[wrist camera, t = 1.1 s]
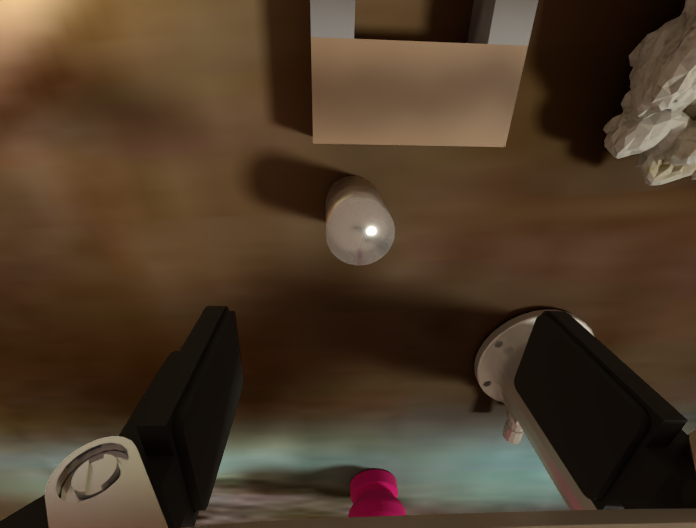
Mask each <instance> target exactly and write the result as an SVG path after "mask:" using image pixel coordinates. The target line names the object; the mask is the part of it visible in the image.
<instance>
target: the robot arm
mask: <svg viewBox="0 0 696 528" xmlns="http://www.w3.org/2000/svg"><path fill="white" fill-rule="evenodd" d="M474 372H475V376H476V379H477V381H478V383H479V385H480V387H481V388H482V390H483V391H484V392H485V393H486V394H487V395H488V396H489V397H491V398H493V399H494V400H497V401H500V402H503V403H504V404H505V406H506V408H507V413H506V414H507V417H508V420H507V421H506V423H505V426H504V429H503V436H504V438H505V439H506V440H507V441H508V442H510V443H513V444H517V443H519V442H520V440H521V438H522V435H523V433H525V435H526V436H527V438H528V440H529V441H530V443H531V445H532V447H533V448H534V450H535V452H536V453H537V455H538V457H539V458H540V460H541V462H542V463H543V465H544V467H545V469H546V470H547V472H548V474H549V475H550V477H551V479H552V480H553V482H554V484H555V485H556V487H557V489H558V491H559V492H560V494H561V496H562V497H563V499H564V501H565V502H566V504H567V506H568V507H569V509H570V511H532V512H498V513H465V514H433V515H402V516H375V517H347V518H319V519H296V520H278V521H260V522H242V523H228V524H219V525H209V526H200V527H193V526H194V525H195V522H196V519H197V515H198V512H199V510H205V509H206V508H207V506H208V503H209V500H210V497H211V493H212V490H213V487H214V483H215V480H216V477H217V473H218V470H219V466H220V463H221V460H222V456H223V453H224V449H225V446H226V443H227V439H228V436H229V433H230V429H231V426H232V422H233V419H234V416H235V412H236V409H237V406H238V402H239V399H240V395H241V392H242V387H243V374H242V366H241V357H240V349H239V340H238V332H237V323H236V315H235V312H234V311H229V308H228V307H227V306H207V307H206V308H205V309H204V311H203V313H202V314H201V316H200V318H199V320H198V321H197V323H196V325H195V326H194V328H193V330H192V331H191V333H190V335H189V337H188V338H187V340H186V342H185V343H184V345H183V347H182V348H181V350H180V351H174V352H172V353H171V354H170V355H169V356H168V357H167V359H166V361H165V362H164V364H163V365H162V367H161V369H160V370H159V372H158V373H157V375H156V377H155V378H154V380H153V381H152V383H151V385H150V386H149V388H148V390H147V391H146V393H145V394H144V396H143V398H142V399H141V401H140V402H139V404H138V406H137V407H136V409H135V410H134V412H133V414H132V415H131V417H130V419H129V420H128V422H127V423H126V425H125V427H124V428H123V430H122V431H121V433H120V435H119V436H111V437H105V438H100V439H98V440H95V441H93V442H90V443H88V444H86V445H84V446H82V447H81V448H79V449H78V450H76V451H74V452H73V453H72V454H71V455H69V456H68V457H67V458H66V459H65V460H63V461H62V462H61V463H60V465H59V466H58V467H57V468H56V469H55V471H54V472H53V473H52V475H51V477H50V479H49V481H48V483H47V485H46V491H45V495H43V496H42V497H40V498H38V499H37V500H35V501H33V502H32V503H30V504H28V505H27V506H25V507H23V508H22V509H20V510H18V511H17V512H15V513H13V514H12V515H10V516H8V517H7V518H5V519H3V520H2V521H0V528H180V527H192V528H696V429H695V430H693V431H692V432H690V433H689V435H687V434H686V433H685V432H684V431H683V430H682V427H683V426H684V425H685V423H686V422H687V421H688V420H687V419H686V418H685V417H684V416H683V415H681V414H680V413H679V412H678V411H677V410H676V409H675V408H674V407H672V406H671V405H670V404H669V403H668V402H667V401H666V400H665V399H664V398H662V397H661V396H660V395H659V394H658V393H657V392H656V391H655V390H654V389H652V388H651V387H650V386H649V385H648V384H647V383H646V382H645V381H643V380H642V379H641V378H640V377H639V376H638V375H637V374H636V373H635V372H633V371H632V370H631V369H630V368H629V367H628V366H627V365H626V364H625V363H623V362H622V361H621V360H620V359H619V358H618V357H617V356H616V355H614V354H613V353H612V352H611V351H610V350H609V349H608V348H607V347H606V346H604V345H603V344H602V343H601V342H600V341H599V340H598V339H597V338H595V336H594V334H593V332H592V330H591V329H590V328H589V327H588V325H587V324H586V323H585V322H583V321H582V320H581V319H580V318H578V317H577V316H576V315H573V314H571V313H569V312H566V311H561V310H549V309H545V310H538V311H532V312H529V313H525V314H522V315H520V316H518V317H515V318H513V319H511V320H509V321H507V322H506V323H504V324H503V325H501V326H500V327H498V328H497V329H496V330H495V331H494V332H492V333H491V334H490V335H489V336H488V338H487V339H486V340H485V341H484V342H483V344H482V345H481V347H480V349H479V350H478V353H477V355H476V358H475V364H474Z"/></svg>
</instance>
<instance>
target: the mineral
mask: <svg viewBox="0 0 696 528" xmlns="http://www.w3.org/2000/svg"><path fill="white" fill-rule="evenodd" d="M629 62H630V66H631V67H633V69H632V71H631V73H630V75H629V78H630V84H631V85H630V89H631V90H630V91H629V92H628V93H627V94H626V95H625V97H624V99H623V101H622V103H621V106H622V109H623V113H622V114H621V115H618V116H616V117H613V118H612V119H611V120H610V121H609V122H608V123H607V124H606V125H605V126H604V129H603V130H604V132H605V133H606V134H607V136H606V138H605V140H604V142H605V147H606V149H607V150H608V151H609V152H610V153H611V154H612V156H613V157H615V158H618V159H619V158H622V157H626V156H630V155H633V154H639V157H638V162H637V164H636V166H637V167H639V168H640V170H641V172H642V174H643V177H644V181H645V183H646V184H649V185H661V184H665V183H668V182H672V181H674V180H677V179H680V178H683V177H686V176H690V175H693V177H692V180H693V179H696V0H685V7H684V10H683V12H682V14H681V15H680V16H679V17H677V18H675V19H673V20H671V21H669V22H666V23H665V24H664V25H662V26H661V27H660V28H659V29H658V30H656V31H654V32H652V33H650V34H647V36H646V37H645V38H644V39H643V40H642V41H641V42H640V43H639V44H638V46H637V47H636V48H635V49H634V50H633V51H632V52H631V54H630V55H629Z"/></svg>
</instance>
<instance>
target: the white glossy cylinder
mask: <svg viewBox="0 0 696 528" xmlns="http://www.w3.org/2000/svg"><path fill="white" fill-rule="evenodd" d="M394 236H395V227H394V223H393V220H392V218H391V216H390V214H389V212H388V210H387V208H386V207H385V205H384V203H383V201H382V199H381V197H380V196H379V194H378V192H377V190H376V188H375V187H374V185H373V184H372V183H371V182H370V181H368V180H367V179H365V178H363V177H360V176H346V177H343V178H341V179H339V180H337V181H336V182H335V183H334V184H333V185H332V186H331V187H330V189H329V191H328V193H327V196H326V240H327V244H328V247H329V248H330V250H331V252H332V253H333V254H334V255H335V256H336V257H337V258H338V259H340V260H341V261H343V262H345V263H348V264H352V265H366V264H370V263H373V262H375V261H377V260H379V259H380V258H382V257H383V256H384V255H385V254H386V253H387V252H388V251H389V249H390V248H391V246H392V244H393V241H394Z"/></svg>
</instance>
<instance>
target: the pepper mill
mask: <svg viewBox="0 0 696 528" xmlns="http://www.w3.org/2000/svg"><path fill="white" fill-rule="evenodd" d="M350 494H351V500H352V502H353V503H354V504H353V506H352V507H351V509H350V511H349V515H348V517H375V516H402V515H406V512H405V508H404V506H403V505H402V503H401V502H400V501H399V500H398V499H397V496H398V490H397V484H396V480H395V477H394V476H393V475H392V474H391V473H390V472H388V471H385V470H380V469H372V470H366V471H363V472H361V473H359V474H357V475H356V476H355V477H354V478H353V479H352V481H351V483H350Z"/></svg>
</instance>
